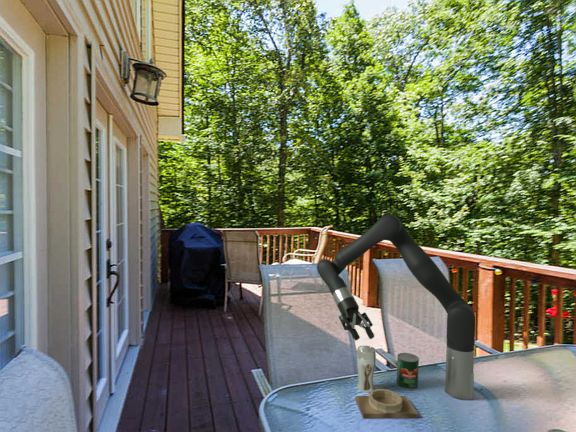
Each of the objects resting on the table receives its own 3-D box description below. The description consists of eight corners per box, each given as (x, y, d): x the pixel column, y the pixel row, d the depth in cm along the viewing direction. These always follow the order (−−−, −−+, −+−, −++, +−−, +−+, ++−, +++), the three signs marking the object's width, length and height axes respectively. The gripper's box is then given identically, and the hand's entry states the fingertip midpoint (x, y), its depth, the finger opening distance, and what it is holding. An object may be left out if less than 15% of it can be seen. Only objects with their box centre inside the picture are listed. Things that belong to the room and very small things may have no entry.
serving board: (405, 400, 128) (405, 388, 128) (417, 418, 117) (418, 405, 117) (355, 400, 127) (355, 388, 127) (363, 418, 116) (363, 406, 116)
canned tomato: (405, 391, 134) (406, 362, 133) (392, 381, 141) (393, 354, 141) (422, 388, 137) (423, 359, 136) (408, 378, 144) (409, 351, 144)
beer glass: (375, 394, 131) (376, 353, 131) (355, 391, 133) (357, 351, 132) (374, 385, 138) (375, 346, 138) (356, 382, 139) (357, 344, 139)
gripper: (338, 295, 137) (359, 334, 127) (362, 296, 146) (383, 332, 136) (327, 307, 141) (346, 345, 131) (351, 306, 150) (370, 342, 140)
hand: (365, 338), depth 134 cm, fingers open, 8 cm apart
